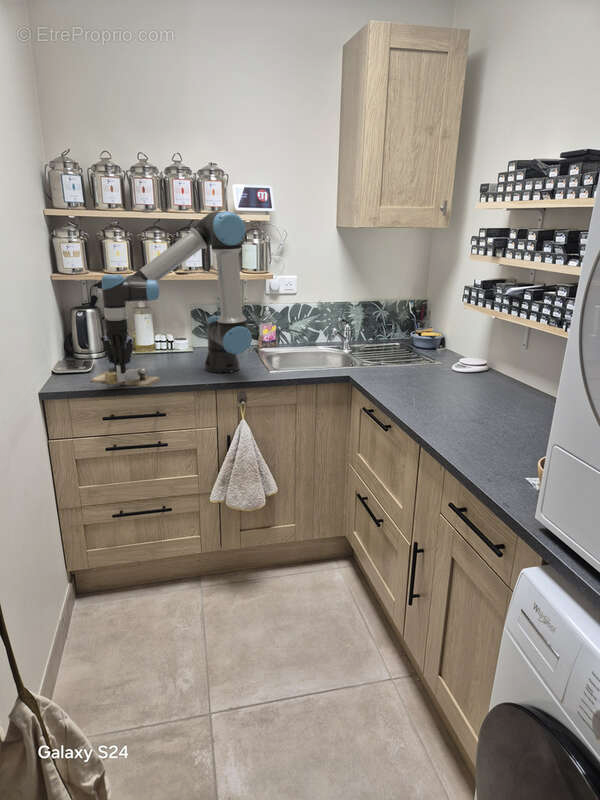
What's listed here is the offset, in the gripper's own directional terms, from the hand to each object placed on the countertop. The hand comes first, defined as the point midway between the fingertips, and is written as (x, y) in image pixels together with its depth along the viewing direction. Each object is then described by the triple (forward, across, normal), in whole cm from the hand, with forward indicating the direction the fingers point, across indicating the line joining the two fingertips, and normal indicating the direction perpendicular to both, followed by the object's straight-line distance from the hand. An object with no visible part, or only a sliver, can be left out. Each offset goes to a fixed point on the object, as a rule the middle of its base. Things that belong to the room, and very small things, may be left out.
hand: (121, 381), depth 203 cm
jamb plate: (+3, -3, -10) cm, 11 cm away
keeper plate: (+3, +9, -10) cm, 13 cm away
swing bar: (+1, 0, -5) cm, 5 cm away
